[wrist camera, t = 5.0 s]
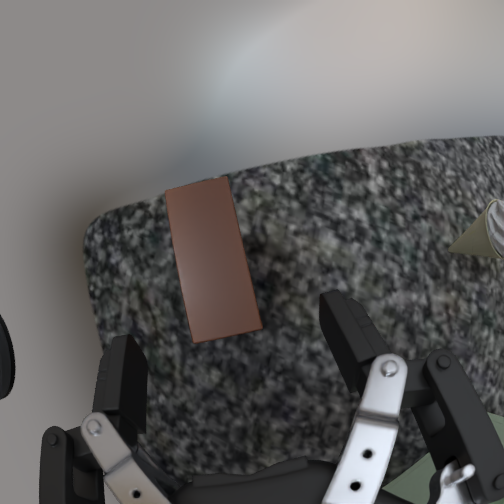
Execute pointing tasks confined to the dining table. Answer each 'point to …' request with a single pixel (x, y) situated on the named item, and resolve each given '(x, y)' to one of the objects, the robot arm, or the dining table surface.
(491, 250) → the ice cream cone
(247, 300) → the chocolate bar
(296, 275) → the dining table surface
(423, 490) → the trash bin
